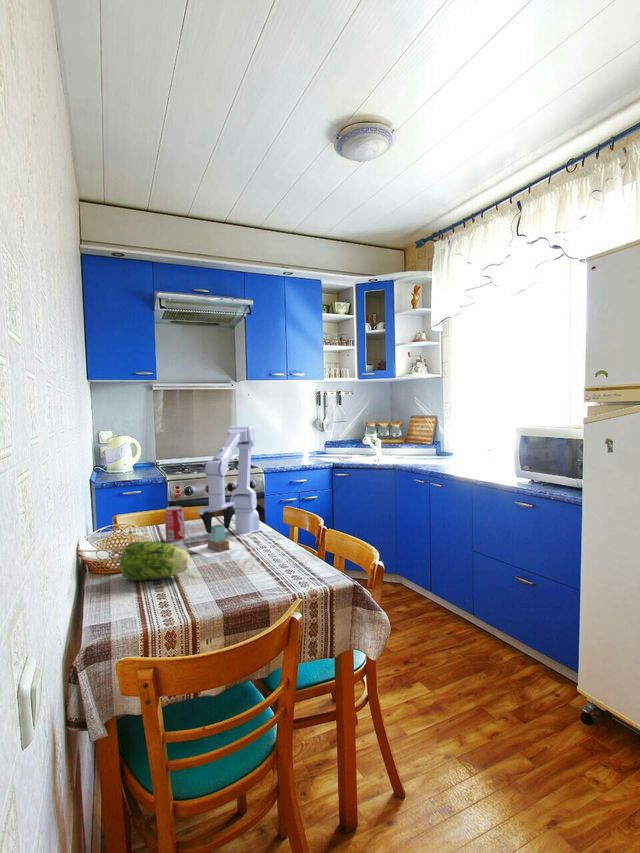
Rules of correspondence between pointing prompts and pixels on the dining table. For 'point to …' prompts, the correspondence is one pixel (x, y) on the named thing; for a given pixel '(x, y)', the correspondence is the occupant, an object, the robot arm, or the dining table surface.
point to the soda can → (174, 524)
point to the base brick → (218, 545)
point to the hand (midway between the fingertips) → (217, 530)
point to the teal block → (217, 533)
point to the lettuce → (152, 560)
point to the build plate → (210, 552)
